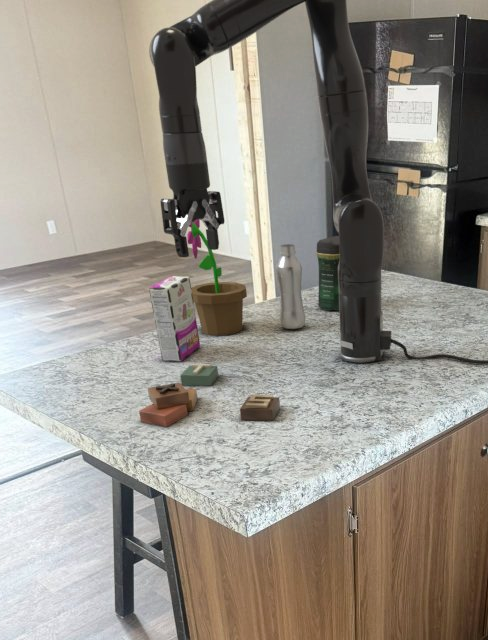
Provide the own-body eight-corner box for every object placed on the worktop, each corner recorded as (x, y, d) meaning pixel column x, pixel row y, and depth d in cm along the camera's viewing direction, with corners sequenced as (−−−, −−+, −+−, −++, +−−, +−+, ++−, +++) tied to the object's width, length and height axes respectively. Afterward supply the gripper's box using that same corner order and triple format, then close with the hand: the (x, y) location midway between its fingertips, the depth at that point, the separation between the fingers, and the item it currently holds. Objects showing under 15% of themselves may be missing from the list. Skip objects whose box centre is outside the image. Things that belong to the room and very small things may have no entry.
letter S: (280, 408, 132) (279, 394, 131) (273, 420, 127) (271, 406, 126) (249, 407, 133) (247, 393, 131) (241, 420, 128) (239, 405, 126)
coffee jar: (337, 313, 190) (334, 240, 181) (314, 309, 194) (310, 238, 184) (357, 305, 197) (355, 235, 188) (334, 301, 201) (331, 233, 191)
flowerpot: (201, 322, 185) (184, 198, 170) (255, 321, 184) (242, 197, 169) (187, 338, 173) (167, 206, 157) (245, 337, 172) (230, 205, 157)
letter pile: (203, 399, 137) (200, 375, 135) (180, 427, 125) (176, 401, 123) (163, 398, 138) (158, 374, 135) (136, 426, 126) (130, 400, 124)
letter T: (218, 375, 148) (216, 363, 147) (210, 385, 143) (208, 372, 142) (191, 375, 149) (189, 362, 148) (181, 385, 144) (179, 372, 143)
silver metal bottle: (310, 326, 180) (305, 243, 170) (297, 333, 175) (291, 248, 164) (289, 323, 182) (282, 242, 172) (275, 330, 177) (268, 247, 167)
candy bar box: (181, 346, 167) (170, 275, 159) (201, 347, 166) (191, 276, 158) (160, 361, 157) (147, 286, 149) (181, 362, 157) (169, 287, 148)
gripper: (173, 164, 121) (188, 261, 130) (227, 157, 132) (237, 248, 140) (142, 163, 125) (158, 258, 133) (197, 157, 135) (209, 245, 144)
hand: (199, 253), depth 137 cm, fingers open, 8 cm apart
